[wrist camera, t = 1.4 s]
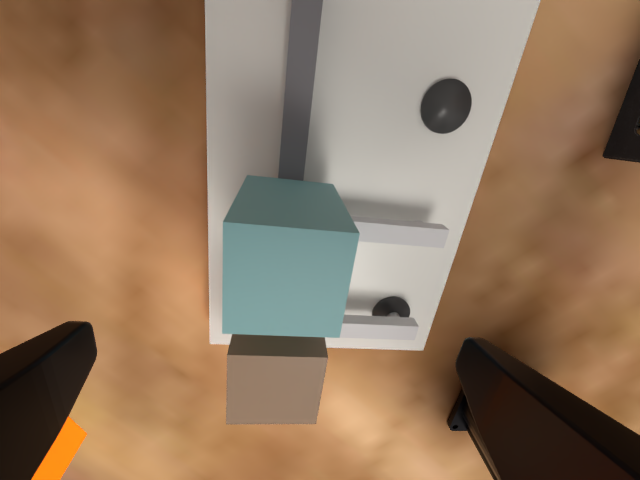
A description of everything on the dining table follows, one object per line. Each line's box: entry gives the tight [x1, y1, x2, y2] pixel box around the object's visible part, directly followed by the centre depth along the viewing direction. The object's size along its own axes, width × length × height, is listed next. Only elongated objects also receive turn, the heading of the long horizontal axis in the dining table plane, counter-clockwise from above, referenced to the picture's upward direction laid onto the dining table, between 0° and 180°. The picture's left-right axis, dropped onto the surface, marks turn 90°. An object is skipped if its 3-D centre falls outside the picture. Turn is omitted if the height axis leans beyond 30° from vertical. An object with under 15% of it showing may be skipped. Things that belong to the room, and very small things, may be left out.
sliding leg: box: [222, 175, 449, 338], centre depth 13 cm, size 4×10×7 cm, turn 83°
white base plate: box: [205, 0, 541, 424], centre depth 15 cm, size 20×14×8 cm
